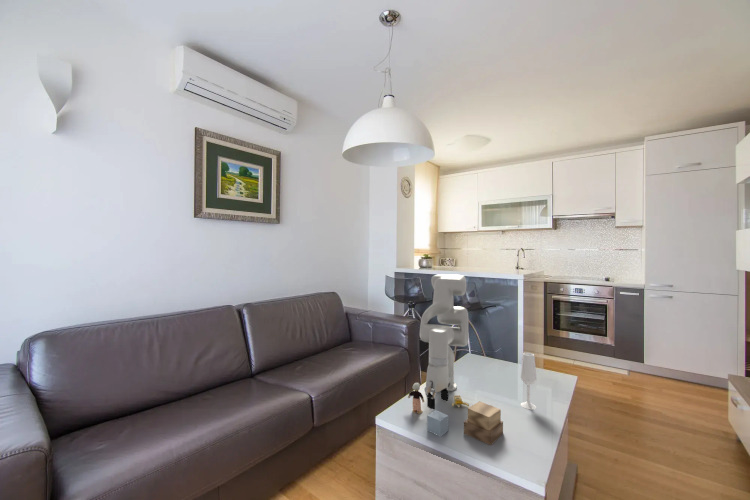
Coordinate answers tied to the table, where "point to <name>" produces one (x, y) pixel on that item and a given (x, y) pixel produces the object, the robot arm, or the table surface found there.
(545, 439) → the table surface
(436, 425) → the blue cube
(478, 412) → the tower top
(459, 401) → the character toy
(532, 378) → the champagne flute
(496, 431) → the tower bottom
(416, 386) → the grandmother figurine
